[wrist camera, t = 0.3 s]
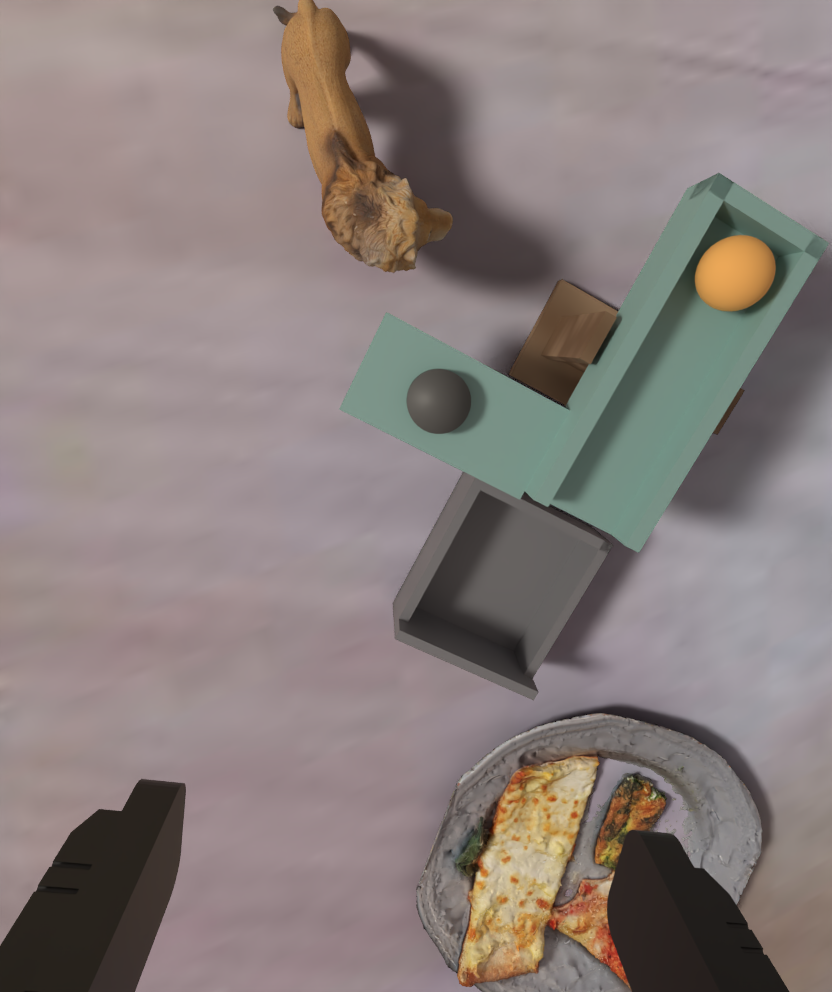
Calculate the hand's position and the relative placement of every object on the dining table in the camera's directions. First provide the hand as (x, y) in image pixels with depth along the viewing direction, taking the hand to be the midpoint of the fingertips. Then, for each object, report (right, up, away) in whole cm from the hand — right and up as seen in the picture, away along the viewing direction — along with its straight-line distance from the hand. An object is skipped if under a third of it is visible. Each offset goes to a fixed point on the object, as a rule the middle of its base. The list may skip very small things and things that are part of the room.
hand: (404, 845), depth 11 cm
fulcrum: (+11, +14, +26) cm, 32 cm away
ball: (+14, +16, +17) cm, 27 cm away
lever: (+7, +14, +19) cm, 25 cm away
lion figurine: (-3, +25, +23) cm, 34 cm away
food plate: (+12, -20, +35) cm, 43 cm away
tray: (+5, +2, +29) cm, 29 cm away
